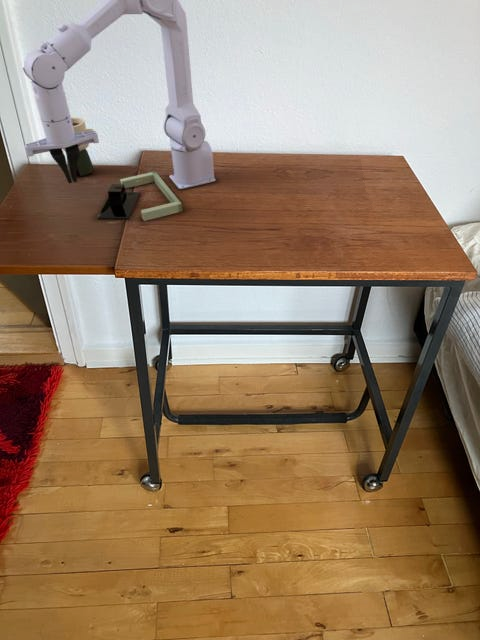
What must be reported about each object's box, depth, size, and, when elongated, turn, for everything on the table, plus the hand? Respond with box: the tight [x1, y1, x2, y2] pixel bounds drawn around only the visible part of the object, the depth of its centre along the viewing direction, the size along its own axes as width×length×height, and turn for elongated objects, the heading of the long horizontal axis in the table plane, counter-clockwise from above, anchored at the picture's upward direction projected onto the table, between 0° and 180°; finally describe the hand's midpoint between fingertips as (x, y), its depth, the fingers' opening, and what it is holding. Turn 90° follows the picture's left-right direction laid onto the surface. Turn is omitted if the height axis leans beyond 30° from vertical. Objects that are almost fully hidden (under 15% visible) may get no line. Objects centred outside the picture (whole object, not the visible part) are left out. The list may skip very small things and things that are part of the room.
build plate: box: [96, 183, 141, 221], centre depth 122 cm, size 12×7×5 cm, turn 176°
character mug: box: [62, 116, 95, 176], centre depth 134 cm, size 11×7×13 cm, turn 90°
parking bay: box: [119, 171, 183, 222], centre depth 125 cm, size 9×19×2 cm, turn 25°
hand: (72, 180), depth 115 cm, fingers closed
